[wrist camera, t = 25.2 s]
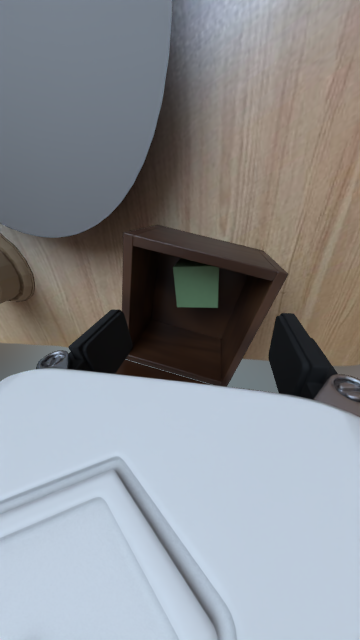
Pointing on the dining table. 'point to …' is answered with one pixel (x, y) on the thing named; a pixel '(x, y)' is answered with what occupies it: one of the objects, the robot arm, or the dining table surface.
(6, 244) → the lantern
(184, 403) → the robot arm
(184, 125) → the dining table surface
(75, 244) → the dining table surface
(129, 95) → the flat disc
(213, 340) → the chest
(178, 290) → the block
